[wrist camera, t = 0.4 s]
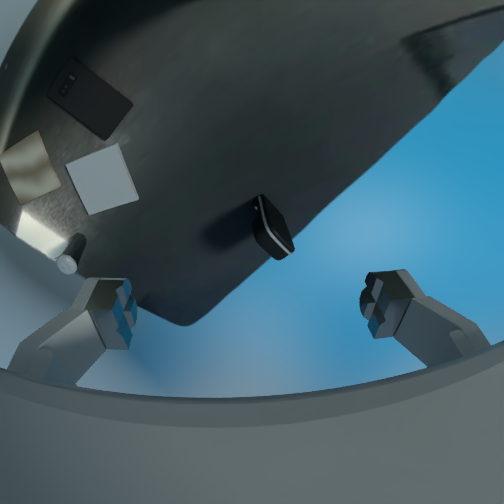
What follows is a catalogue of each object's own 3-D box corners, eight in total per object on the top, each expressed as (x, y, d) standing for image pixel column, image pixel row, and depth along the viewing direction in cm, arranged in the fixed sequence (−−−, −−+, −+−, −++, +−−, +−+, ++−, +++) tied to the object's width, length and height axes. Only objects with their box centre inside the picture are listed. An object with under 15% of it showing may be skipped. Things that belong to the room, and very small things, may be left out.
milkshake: (82, 224, 50) (64, 256, 42) (93, 245, 53) (77, 279, 46) (66, 229, 50) (46, 260, 42) (76, 249, 53) (59, 281, 46)
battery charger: (245, 204, 52) (251, 242, 43) (261, 191, 50) (272, 227, 41) (268, 228, 55) (278, 267, 46) (284, 216, 54) (298, 255, 45)
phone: (105, 141, 40) (45, 95, 33) (108, 139, 41) (49, 93, 34) (132, 105, 37) (69, 56, 30) (135, 103, 38) (73, 56, 31)
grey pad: (67, 163, 42) (65, 165, 41) (117, 142, 41) (116, 144, 41) (90, 212, 49) (88, 215, 48) (139, 197, 48) (138, 199, 48)
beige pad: (0, 154, 37) (-2, 156, 36) (38, 130, 37) (35, 131, 36) (22, 203, 45) (20, 205, 44) (61, 185, 44) (59, 187, 43)
